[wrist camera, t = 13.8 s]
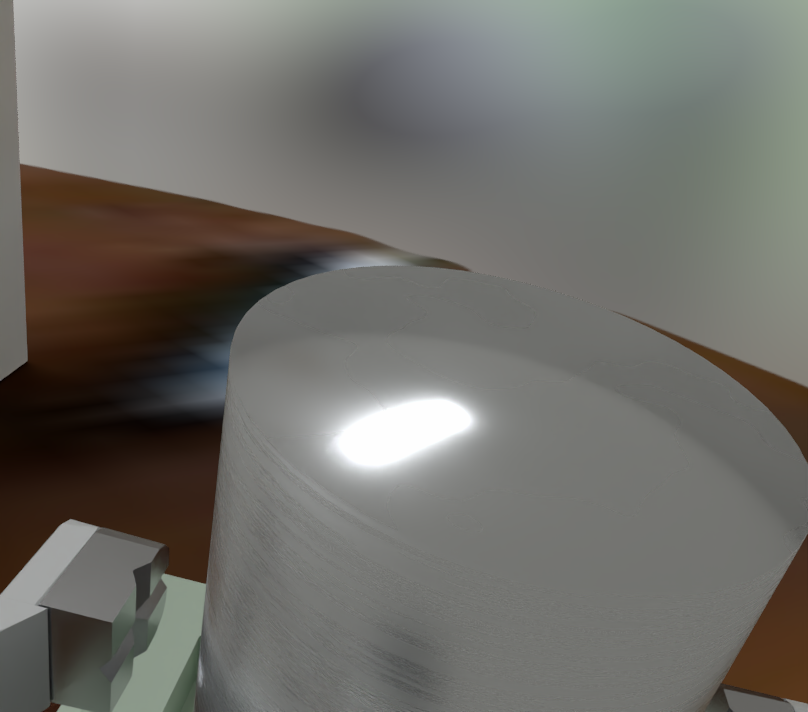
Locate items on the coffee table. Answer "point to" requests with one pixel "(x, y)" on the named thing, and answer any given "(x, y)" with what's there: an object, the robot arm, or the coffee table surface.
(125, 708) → the plate
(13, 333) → the gable box
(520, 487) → the brushed metal cylinder
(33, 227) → the coffee table surface
